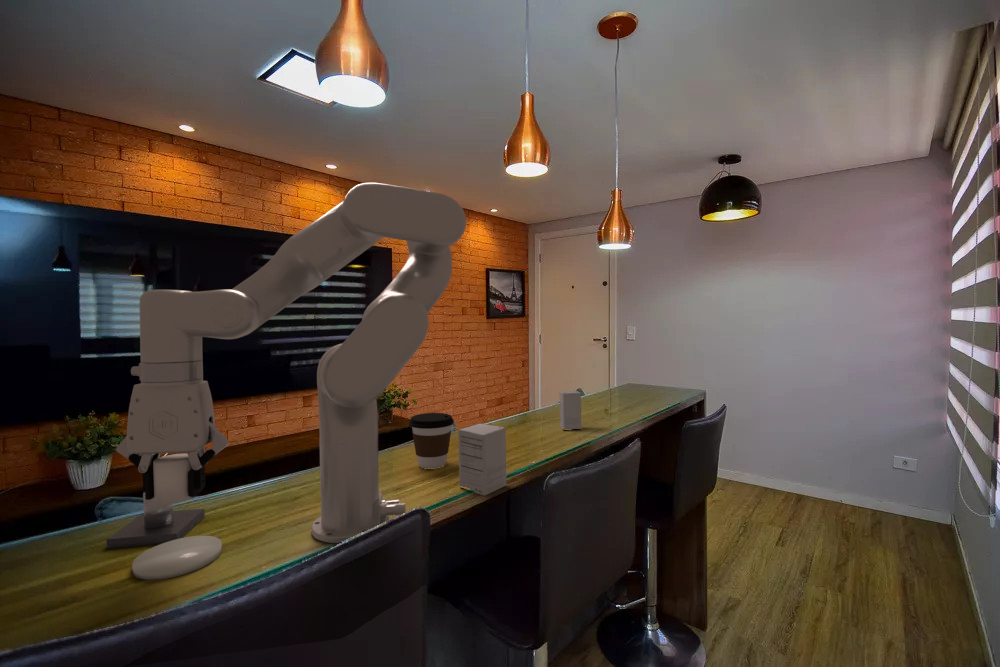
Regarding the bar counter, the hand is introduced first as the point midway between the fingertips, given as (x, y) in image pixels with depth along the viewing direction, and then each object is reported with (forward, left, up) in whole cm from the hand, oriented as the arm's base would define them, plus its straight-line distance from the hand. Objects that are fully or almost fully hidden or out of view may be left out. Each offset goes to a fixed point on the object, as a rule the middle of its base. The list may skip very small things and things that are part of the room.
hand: (175, 493), depth 69 cm
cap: (0, 0, -1) cm, 1 cm away
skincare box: (-84, -65, -10) cm, 107 cm away
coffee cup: (-39, -37, -10) cm, 55 cm away
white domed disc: (0, 0, -10) cm, 10 cm away
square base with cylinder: (+8, -11, -10) cm, 17 cm away
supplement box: (-49, -20, -10) cm, 54 cm away
